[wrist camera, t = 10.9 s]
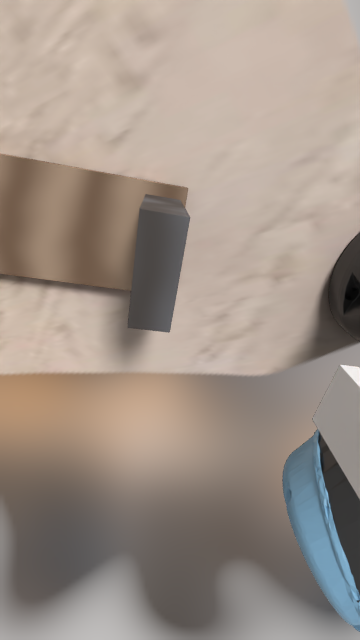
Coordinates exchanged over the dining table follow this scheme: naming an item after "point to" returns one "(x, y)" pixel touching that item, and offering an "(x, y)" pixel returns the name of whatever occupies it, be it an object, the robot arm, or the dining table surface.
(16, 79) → the dining table surface
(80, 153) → the dining table surface
